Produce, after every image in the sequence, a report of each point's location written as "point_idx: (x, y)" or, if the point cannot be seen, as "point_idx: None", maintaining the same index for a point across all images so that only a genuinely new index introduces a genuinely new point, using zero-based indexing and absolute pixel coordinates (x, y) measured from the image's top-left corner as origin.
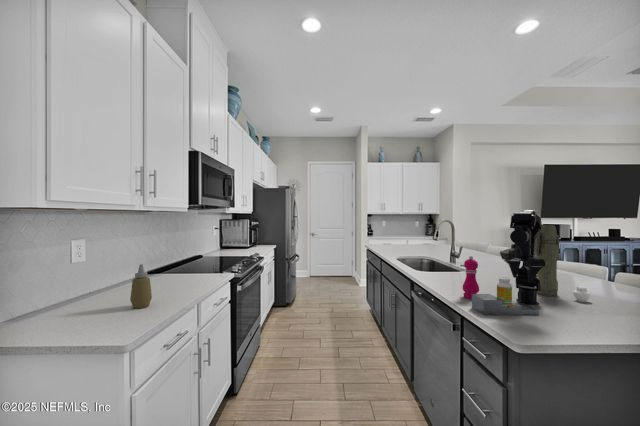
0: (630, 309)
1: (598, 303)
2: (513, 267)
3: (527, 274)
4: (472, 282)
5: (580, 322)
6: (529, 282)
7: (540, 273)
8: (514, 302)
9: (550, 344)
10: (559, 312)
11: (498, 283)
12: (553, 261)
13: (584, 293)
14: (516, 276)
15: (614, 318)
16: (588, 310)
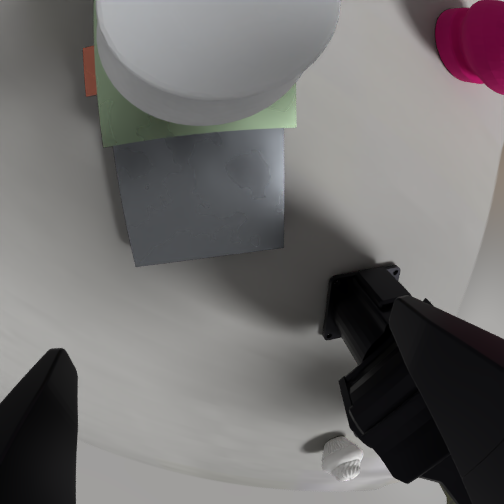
0: (253, 483)
1: (306, 460)
2: (497, 403)
3: (419, 424)
4: None
5: (72, 360)
6: (54, 350)
7: None
8: (172, 130)
9: None
10: (201, 359)
11: None
12: (450, 497)
13: (328, 467)
14: (394, 336)
15: (162, 449)
16: (239, 435)
